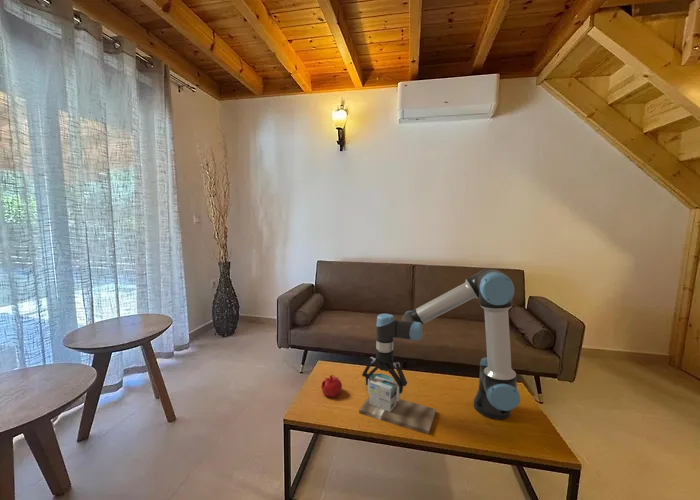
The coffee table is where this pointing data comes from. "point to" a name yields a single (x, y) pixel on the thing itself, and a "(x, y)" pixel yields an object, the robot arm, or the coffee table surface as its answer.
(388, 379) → the saucer
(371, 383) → the light bulb box
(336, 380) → the pomegranate
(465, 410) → the coffee table surface
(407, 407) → the board
